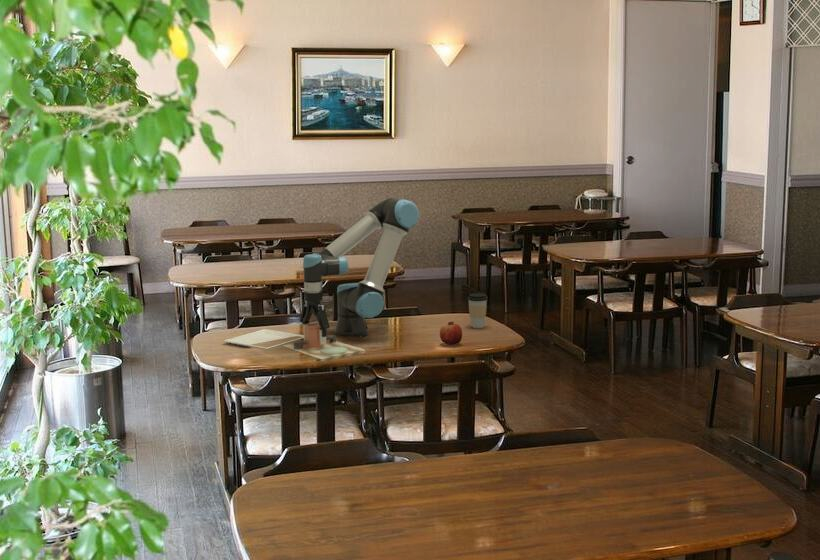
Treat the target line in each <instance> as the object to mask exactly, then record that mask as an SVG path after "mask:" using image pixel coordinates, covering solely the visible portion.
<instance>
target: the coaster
mask: <svg viewBox="0 0 820 560" xmlns="http://www.w3.org/2000/svg"><path fill="white" fill-rule="evenodd" d="M346 352H347V348H344V347H326V348H323V349H321V353H323V354H329V355H335V354H343V353H346Z"/></svg>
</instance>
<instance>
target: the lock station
mask: <svg viewBox="0 0 820 560" xmlns="http://www.w3.org/2000/svg"><path fill="white" fill-rule="evenodd" d="M336 337H337V336H336V335H333V334H330V335H329V334H327V335H326V340H330V343H328V344H325V345H324V346H323V347H318V348H309V347H307V348H301V345H304V344H307V341H305V340H304V339H301V340H296V341H293V343H287V344H283V345H282V347H283V348H284V347H285V348H287V349H289V350H293V351H296V352H298V353H302V354H305V355H308V356H310V357H313V358H316V361H317V362H320V363H323V362H328V361H333V360H337V359H344V358H347V357H352V356H355V355H361V354H365V353H366V351H367V350H366V349H363V348H361V347H358V346H354V345H351V344H348V343H344V342H342V341H339V340H337V338H336ZM326 347H344V348H347V352H346V353H343V354H335V355H329V354H323V353H321V349H323V348H326Z"/></svg>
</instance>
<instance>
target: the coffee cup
mask: <svg viewBox="0 0 820 560" xmlns="http://www.w3.org/2000/svg"><path fill="white" fill-rule="evenodd" d="M488 300H489V297H488V296H487V293H481V292H478V293H477V292H475V293H469V294H468V297H467V301H468V311H469V318H470V327H471V328H472V327H473V329H483V328H485V323H486V317H487V316H486V315H487V308H488V305H487V303H488Z"/></svg>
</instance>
